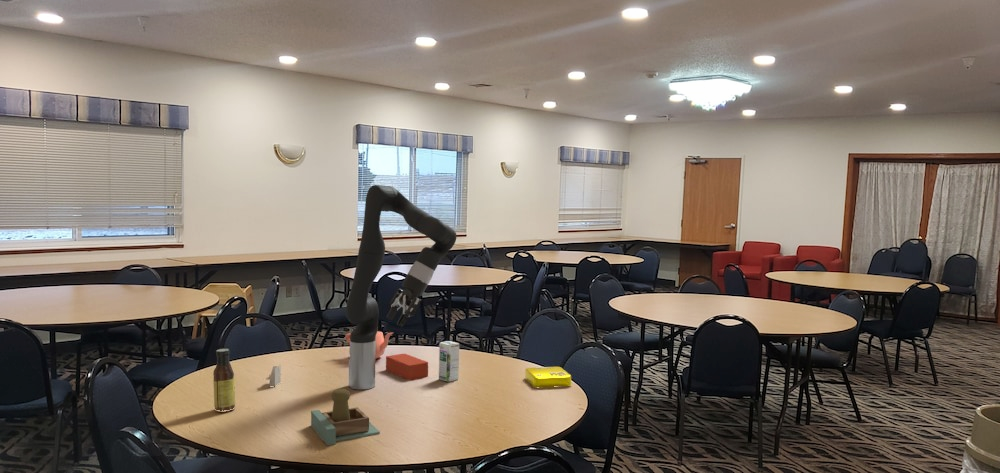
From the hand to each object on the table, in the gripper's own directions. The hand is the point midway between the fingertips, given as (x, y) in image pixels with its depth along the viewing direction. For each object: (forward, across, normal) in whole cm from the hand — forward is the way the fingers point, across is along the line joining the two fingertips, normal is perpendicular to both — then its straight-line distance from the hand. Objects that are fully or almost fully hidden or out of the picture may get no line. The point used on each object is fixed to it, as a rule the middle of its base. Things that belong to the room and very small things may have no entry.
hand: (394, 322), depth 209 cm
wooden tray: (+34, +10, -2) cm, 36 cm away
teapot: (+22, -68, +34) cm, 79 cm away
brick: (+18, -40, +37) cm, 57 cm away
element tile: (-5, -3, +73) cm, 73 cm away
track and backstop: (+34, +10, -2) cm, 36 cm away
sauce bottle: (+51, -27, -25) cm, 63 cm away
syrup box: (+11, -24, +46) cm, 53 cm away
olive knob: (+34, +10, -4) cm, 36 cm away
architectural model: (+43, -48, -6) cm, 64 cm away
